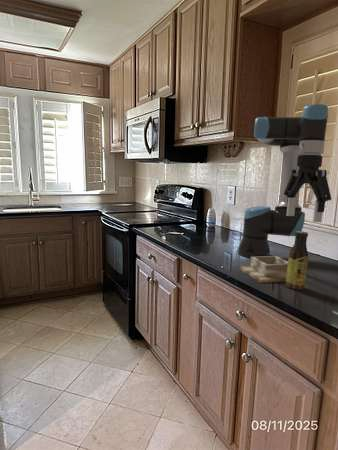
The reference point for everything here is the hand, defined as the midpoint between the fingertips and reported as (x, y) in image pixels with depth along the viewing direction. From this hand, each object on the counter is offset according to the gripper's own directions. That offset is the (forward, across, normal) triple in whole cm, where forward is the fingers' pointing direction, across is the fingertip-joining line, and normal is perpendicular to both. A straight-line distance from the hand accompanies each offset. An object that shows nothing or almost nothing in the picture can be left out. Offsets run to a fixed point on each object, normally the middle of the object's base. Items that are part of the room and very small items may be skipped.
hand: (302, 218), depth 107 cm
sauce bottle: (+25, 0, 0) cm, 25 cm away
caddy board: (+24, -14, -1) cm, 28 cm away
